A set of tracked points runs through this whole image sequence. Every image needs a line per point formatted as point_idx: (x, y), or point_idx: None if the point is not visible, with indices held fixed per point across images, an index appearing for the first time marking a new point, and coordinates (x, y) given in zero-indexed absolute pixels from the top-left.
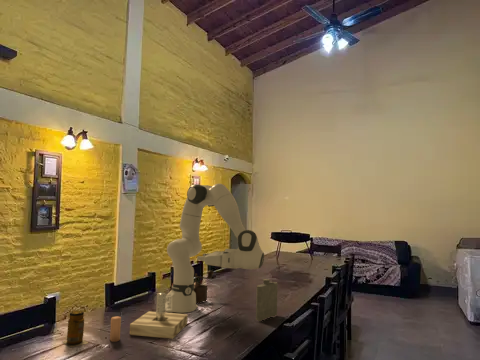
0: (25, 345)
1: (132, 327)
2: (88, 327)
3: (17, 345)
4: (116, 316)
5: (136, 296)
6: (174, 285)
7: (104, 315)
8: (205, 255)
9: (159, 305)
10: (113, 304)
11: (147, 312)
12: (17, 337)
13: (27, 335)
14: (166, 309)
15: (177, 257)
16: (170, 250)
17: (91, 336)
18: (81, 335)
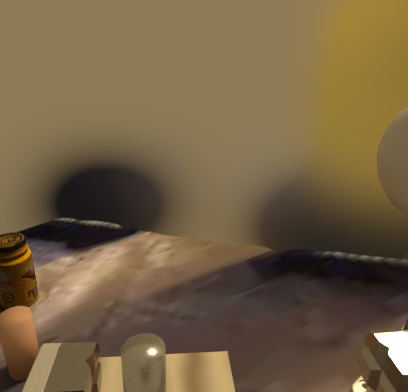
0: None
1: None
2: (124, 280)
3: None
4: (30, 311)
5: (401, 260)
6: (404, 326)
7: (218, 269)
8: (389, 381)
9: (123, 389)
10: (303, 251)
11: (212, 353)
12: (55, 228)
13: (65, 233)
14: (354, 382)
15: (404, 207)
16: (378, 153)
17: (58, 310)
18: (8, 297)
